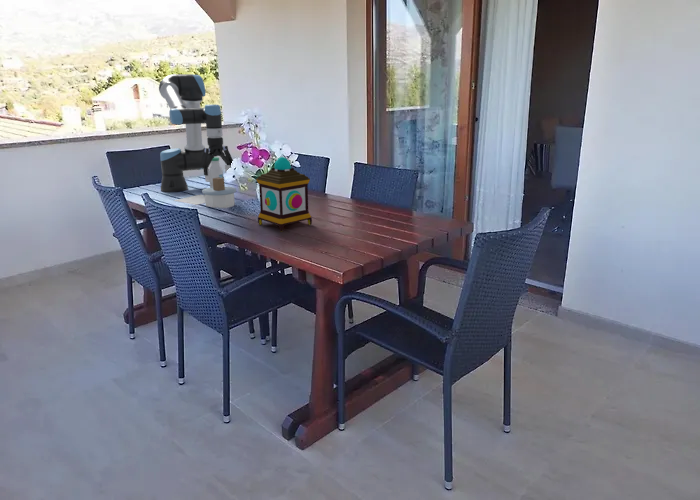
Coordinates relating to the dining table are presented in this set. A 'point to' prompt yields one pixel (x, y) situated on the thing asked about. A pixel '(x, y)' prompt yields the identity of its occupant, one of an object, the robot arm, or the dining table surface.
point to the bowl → (220, 200)
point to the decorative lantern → (283, 195)
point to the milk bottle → (215, 170)
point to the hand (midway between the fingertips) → (218, 179)
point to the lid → (218, 188)
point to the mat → (193, 199)
